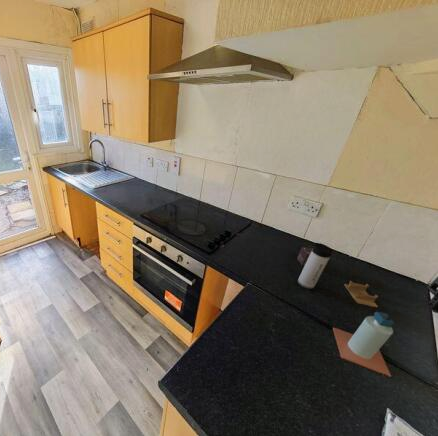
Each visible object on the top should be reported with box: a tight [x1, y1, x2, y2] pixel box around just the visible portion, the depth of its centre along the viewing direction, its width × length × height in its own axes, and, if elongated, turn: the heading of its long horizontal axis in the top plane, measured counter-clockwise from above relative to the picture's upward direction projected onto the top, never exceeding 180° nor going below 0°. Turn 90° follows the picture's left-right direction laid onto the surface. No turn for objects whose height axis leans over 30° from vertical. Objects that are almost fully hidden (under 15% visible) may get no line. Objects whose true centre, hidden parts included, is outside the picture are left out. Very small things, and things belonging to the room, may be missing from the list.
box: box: [296, 246, 313, 267], centre depth 112 cm, size 6×6×7 cm
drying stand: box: [343, 280, 379, 308], centre depth 95 cm, size 11×7×4 cm, turn 164°
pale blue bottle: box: [348, 311, 395, 359], centre depth 69 cm, size 16×6×6 cm
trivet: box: [332, 326, 392, 378], centre depth 73 cm, size 12×12×1 cm
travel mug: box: [297, 242, 333, 290], centre depth 96 cm, size 6×7×20 cm
